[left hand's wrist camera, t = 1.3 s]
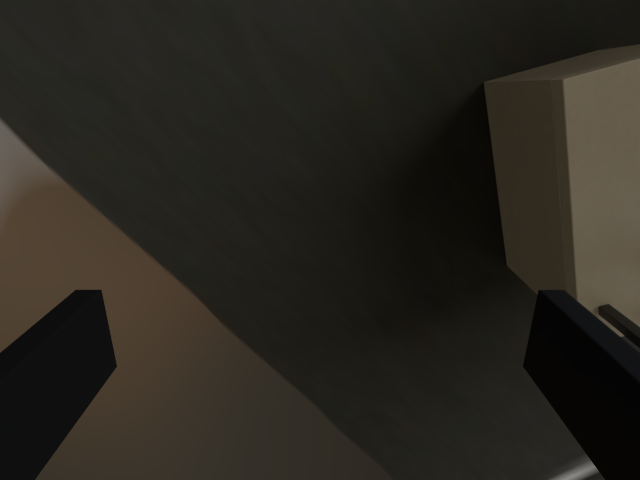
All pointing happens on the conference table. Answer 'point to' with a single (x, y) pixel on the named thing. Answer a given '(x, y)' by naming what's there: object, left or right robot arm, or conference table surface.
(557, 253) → the chest
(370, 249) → the conference table surface
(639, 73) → the lid
